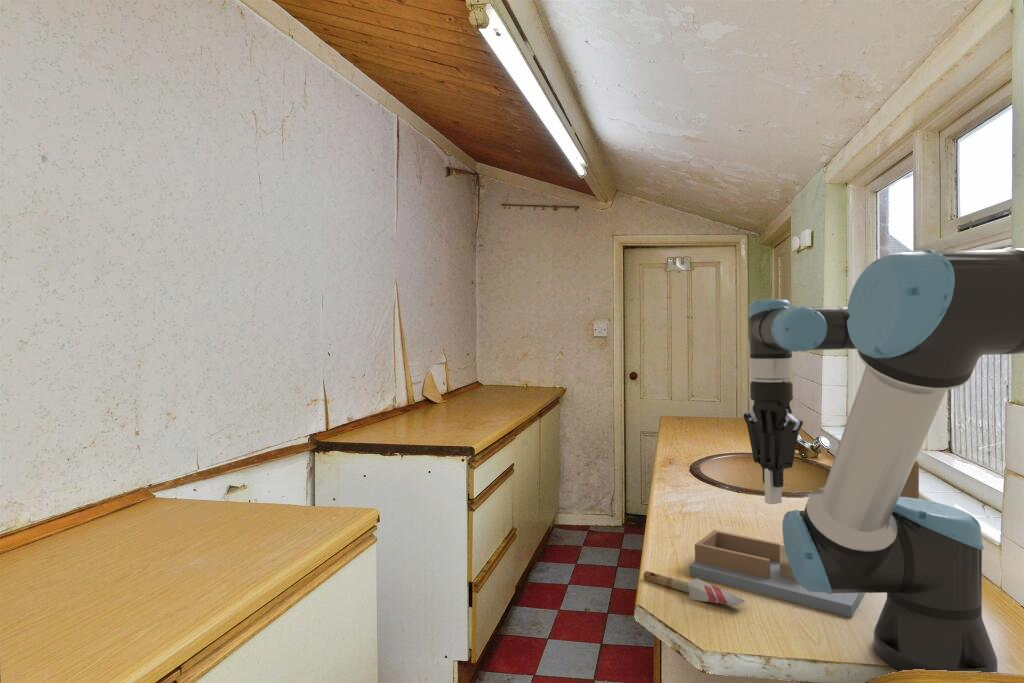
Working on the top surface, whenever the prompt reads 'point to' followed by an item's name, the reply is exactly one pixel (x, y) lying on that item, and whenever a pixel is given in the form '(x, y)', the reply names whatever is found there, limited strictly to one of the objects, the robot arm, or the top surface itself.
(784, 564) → the maple cube
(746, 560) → the slate deck with cubby
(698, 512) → the top surface
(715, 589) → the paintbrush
